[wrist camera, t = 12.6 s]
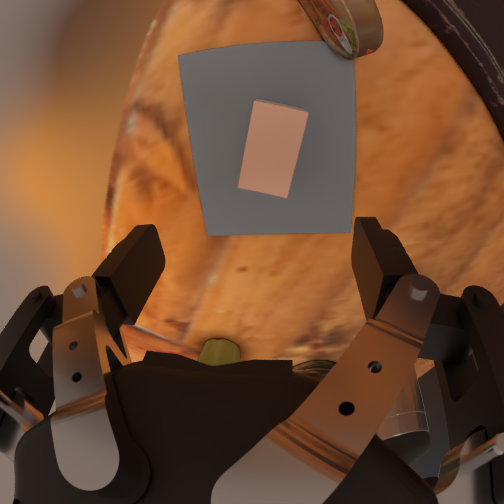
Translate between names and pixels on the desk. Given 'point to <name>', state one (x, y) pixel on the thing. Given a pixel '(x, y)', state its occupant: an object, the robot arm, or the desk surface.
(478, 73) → the diary
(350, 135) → the mat
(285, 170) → the block
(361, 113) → the desk surface
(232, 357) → the plant pot
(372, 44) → the tin
